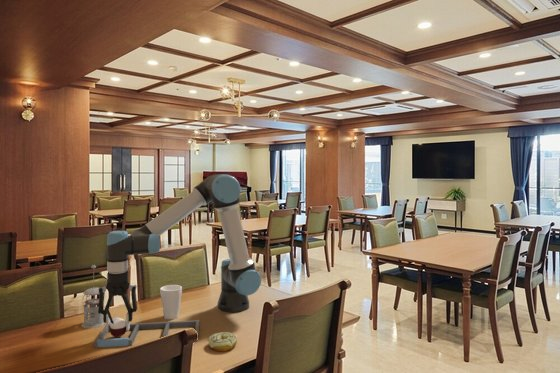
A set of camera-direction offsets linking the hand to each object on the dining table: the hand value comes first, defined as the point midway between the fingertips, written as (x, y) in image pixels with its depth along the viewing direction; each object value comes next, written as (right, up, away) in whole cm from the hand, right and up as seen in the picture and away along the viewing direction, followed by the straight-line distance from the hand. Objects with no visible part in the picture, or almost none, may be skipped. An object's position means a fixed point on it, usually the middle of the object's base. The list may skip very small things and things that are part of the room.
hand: (118, 330), depth 155 cm
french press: (-17, -3, +15) cm, 22 cm away
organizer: (+12, -3, +2) cm, 12 cm away
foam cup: (+14, -2, +23) cm, 27 cm away
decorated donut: (+42, -4, -6) cm, 42 cm away
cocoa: (0, -2, 0) cm, 2 cm away
